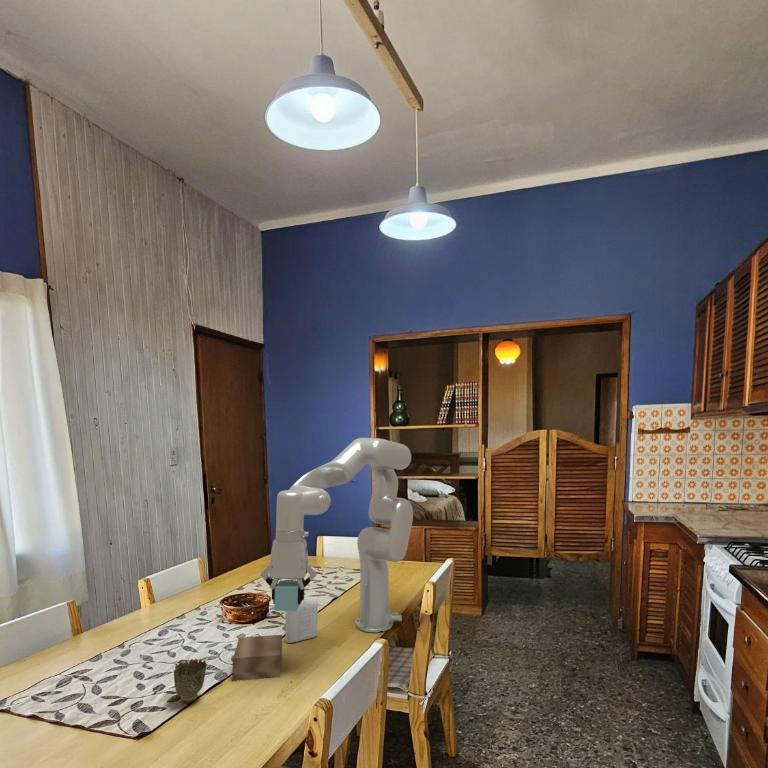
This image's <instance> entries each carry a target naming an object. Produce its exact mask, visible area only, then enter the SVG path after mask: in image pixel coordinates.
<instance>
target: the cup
mask: <svg viewBox="0 0 768 768" xmlns="http://www.w3.org/2000/svg"><path fill="white" fill-rule="evenodd" d="M202 660H203V659H201V658H200V659H199V660H198V659H197V658H195V659H194V658H191V659H190V661H188V660H187V659H186V660H185V661H184V662H180V661H179V662H178V664H176V665H175V667H174V670H173V679H174V688H175V691H176V693H177V695H178V696H179V697H180V700H181V702H182V703H183V704H191V703H193V702H194V701H196V699H197V698H198V693H199V692H200V691H201V690H202V688H203V686H204V683H205V677H206V670H207V669H206V668H207V666H208V665H207V662H206V660H205V659H204V660H203V661H202Z"/></svg>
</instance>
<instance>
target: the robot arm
mask: <svg viewBox="0 0 768 768" xmlns="http://www.w3.org/2000/svg"><path fill="white" fill-rule="evenodd" d="M411 461H412V453H411V450H410V449H409V447H408V446H406V444H403V443H399V442H396V441H391V440H387V439H384V438H378V437H377V438H376V437H375V438H374V437H359V438H356V439H354V440H353V441H352V442H350V444H348V445H347V446H346V447H345V448H344V449H343V450H342V451H341V452H340V453H339V454H338V455H337V456H336V457H335V458H333V459H332V460H331V461H329V462H327V463H325V464H322V465H321V466H318V467H316V468H314V469H312V470H310V471H308V472H306V473H305V474H304V475H302V476H301V477H300V478H298V480H297V481H296V482H294V483H293V485H291V486H290V488H289V489H285V490H281V491H279V492H278V494H277V496H276V518H275V521H276V524H275V539H274V540H273V541H272V544H271V545H272V546H271V550H270V551H271V552H270V558H269V565H267V567H265V568H264V570H263V571H261V573H260V576H261V578H262V579H263V580H264V581H265V582H266V584H267V585H268V586H269V587H270V589H271V600H272V601H273V603H272V604H273V605H275V587H276V586H277V584H278V583H279V581H280V580H296V581H297V582H298V584H299V590H298V605H300V604H301V602H302V600H304V597H305V588H306V587H307V586H309V584H310V582H312V581H313V580H314V579H315V578H316V577H317V572H316V571H315V569H313V568H312V567H311V565H310V564H309V556H308V555H309V552H308V551H309V550H308V544H307V543H308V542H307V540H306V539H305V538H306V537H309V531H305V528H304V522H305V521H304V520H305V519H304V518H305V516H319V515H322V514H324V513H325V512H327V511H328V509H329V508H330V506H331V502H332V500H331V496H330V494H329V492H328V491H326V490H325V489H328V488H331V487H337V486H342V485H344V484H347V483H349V482H350V481H352V480H353V479H354V477H355V476H356V475H357V474H359V472H360V471H361V470H362V469H363V468H364V467H366V465H369V466H370V468H371V470H372V473H373V479H374V481H373V488H372V493H371V496H370V497H371V498H370V502H369V508H368V518H369V520H370V521H371V522H373V523H374V524H379V525H383V526H384V525H385V526H389V527H390V528H389V529H386V528H381V527H376V526H369V527H365V528H363V529H362V530H360V532H359V534H358V537H357V540H356V542H357V551H358V557H359V564H360V565H359V566H360V567H359V569H360V570H359V572H360V573H359V575H360V576H359V577H360V578H359V616H358V617H356V619H355V620H354V621H355V622H354V625H355V628H357V629H358V630H360V631H362V632H365V633H381V632H380V631H383V632H386V631H388V630H390V629H391V628H392V627H394V621H395V622H402V621H403V614H399V612H392V611H391V610H390V607H389V566H388V563H387V562H393V563H398V562H401V561H402V560H403V559H404V558H405V556H406V553H407V552H408V551H407V550H408V547H409V542H410V536H411V531H412V526H413V520H414V509H413V506H412V504H411V502H410V501H409V500H408V499H406V498H403V497H397V496H398V490H399V479H398V475H397V474H396V472H395V470H399V471H400V470H401V471H403V470H404V469H407V467H409V465H410V464H411ZM268 573H269V574H268ZM306 574H308V575H309V576H308V577H306ZM305 577H306V578H305Z"/></svg>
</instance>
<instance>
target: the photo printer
mask: <svg viewBox="0 0 768 768" xmlns="http://www.w3.org/2000/svg"><path fill="white" fill-rule="evenodd" d="M318 605H319V604H318V598H316V597H315V596H309V595H307V596H306V595H304V600H302V602H301V604H300V605H299V607H298V609H297V611H285V637H284V639H285V642H286V643H287V644H292V643H297V642H300V641H304V640H309V639H312V638H315V637H317V636H318V616H319V615H318V614H319V613H318V611H319V610H318V607H319V606H318Z"/></svg>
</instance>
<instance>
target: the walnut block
mask: <svg viewBox="0 0 768 768" xmlns="http://www.w3.org/2000/svg"><path fill="white" fill-rule="evenodd" d="M282 644H283V634H276V635H275V634H274V635H261V636H244V637H243V636H242V637H239V638H238V640H237V644H236V647H235V650H234V655H233V657H232V682H238V681H237V680H239V682H240V680H241V681H250V680H251V681H253V680H263V679H264V678H265V679H274V678H276V677H277V678H280V677H281V674H280V673H281V665H282V657H283V656H282V655H283V654H282V652H283V649H282V647H283V645H282ZM252 679H253V680H252Z"/></svg>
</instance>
